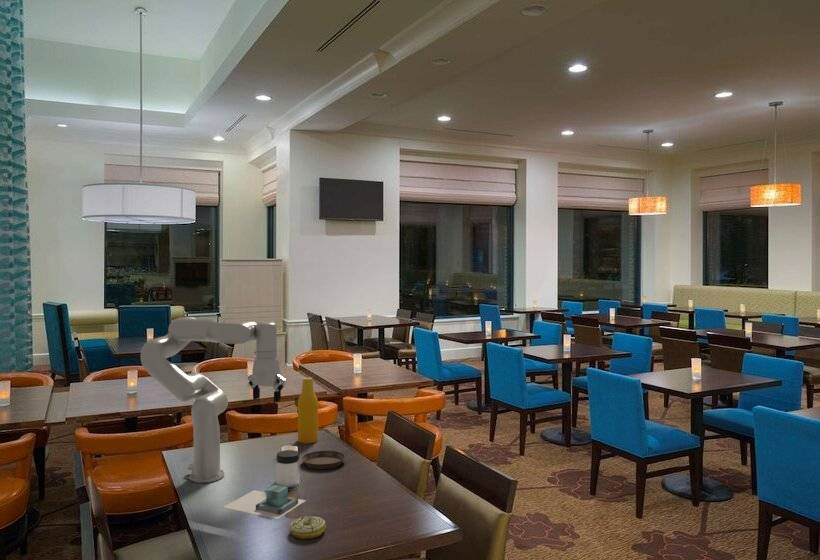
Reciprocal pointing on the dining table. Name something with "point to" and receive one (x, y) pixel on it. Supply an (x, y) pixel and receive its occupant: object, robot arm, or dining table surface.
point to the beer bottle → (307, 413)
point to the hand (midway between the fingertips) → (266, 400)
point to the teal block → (277, 496)
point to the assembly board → (262, 505)
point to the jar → (287, 467)
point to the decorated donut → (307, 527)
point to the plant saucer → (323, 459)
